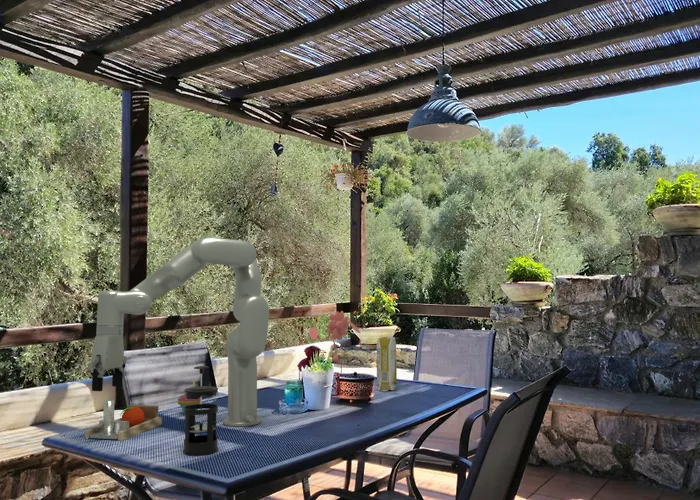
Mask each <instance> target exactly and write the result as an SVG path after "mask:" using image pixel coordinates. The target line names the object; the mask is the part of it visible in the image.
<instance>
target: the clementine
mask: <svg viewBox="0 0 700 500" xmlns="http://www.w3.org/2000/svg"><path fill="white" fill-rule="evenodd" d="M119 417H121V418H122V421H129V428H130V427H133V426H136V425H138V424H141V423H143V421H144V413H143V411H142V410H141V409H140V408H139V407H134V406H133V407H129V408H127V407H126V408H125V409H123V410H122V411H121V412H120V415H119Z"/></svg>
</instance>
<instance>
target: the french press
mask: <svg viewBox="0 0 700 500" xmlns="http://www.w3.org/2000/svg"><path fill="white" fill-rule="evenodd" d="M193 369H194V370H199V374H200V386H199V385H198V386H194V387H193V386H192V387H187V388H184V392H185V394H186V398H188V399H198V398H200V397H201V401H200V404H195V405H186V407H184V413H185V414H184V417H185V418H184V419H185V420H184V439H183V450H182V454H184V455H186V456H192V457H202V456H209V455H212V454H216V453H217V452H219V447H218V439H219V438H218V436H217V413H218V411H219V406H218V405H217V404H214V403H202V402H203V396H204V395H211V396H215V397H216V396H217V391H218V390H219V388H218V386H209V385H203V374H204V370H205V369H210V367H209V366H206V365H200V366H199V365H198V366H195V367H193ZM195 409H198V410H195ZM204 415H206V420H207V421H206V423H203V422H202V419H203V418H202V417H203V416H204ZM196 416H199V417H200V419H199V420H200V421H199V424H196ZM205 433H206V434H205ZM196 434H197V435H196ZM198 434H200V435H198Z"/></svg>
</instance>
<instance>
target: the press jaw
mask: <svg viewBox="0 0 700 500" xmlns="http://www.w3.org/2000/svg"><path fill="white" fill-rule="evenodd" d="M102 411H103V417H102V418H103V419H102V420H99V421H98V426H99V431H98V432H95V433H92V434H90V439H105V440H118V432H120V431H123V430H125V429H128V428H129V421H114V420H115V400H114V399H106V400H103V410H102Z"/></svg>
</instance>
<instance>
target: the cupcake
mask: <svg viewBox="0 0 700 500" xmlns="http://www.w3.org/2000/svg"><path fill="white" fill-rule="evenodd" d="M195 385H196V380H195V378H194V380H193V381H192V387H196V386H195ZM200 401H201V397H200V398H198V399H188V398H186V393H185V394H183V395H181V396H180V397H178V399H177V405H179V406H180V408H181V411H182V414H183V413H184V407H186V405H195V404H200ZM195 410H199V409H195ZM183 415H185V413H184V414H183Z"/></svg>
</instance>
